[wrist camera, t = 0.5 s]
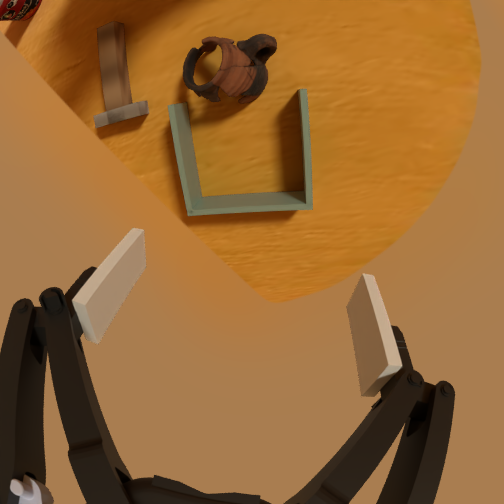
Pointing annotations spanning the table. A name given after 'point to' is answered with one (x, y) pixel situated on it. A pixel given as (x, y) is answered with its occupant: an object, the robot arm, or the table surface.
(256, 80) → the pottery mug
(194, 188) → the green u-shaped frame
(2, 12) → the canned food
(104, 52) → the hammer
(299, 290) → the table surface
